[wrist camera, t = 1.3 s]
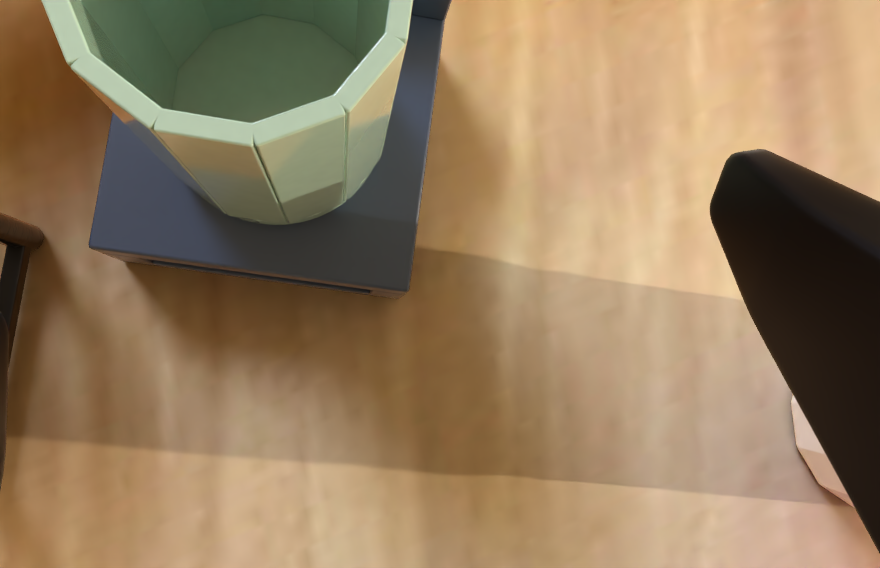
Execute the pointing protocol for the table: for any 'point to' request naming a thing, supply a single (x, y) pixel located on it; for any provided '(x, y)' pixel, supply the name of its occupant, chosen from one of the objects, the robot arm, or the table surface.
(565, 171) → the table surface
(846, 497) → the white cup
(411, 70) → the shelf
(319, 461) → the table surface
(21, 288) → the rack
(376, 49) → the tumbler
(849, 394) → the robot arm
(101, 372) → the table surface
